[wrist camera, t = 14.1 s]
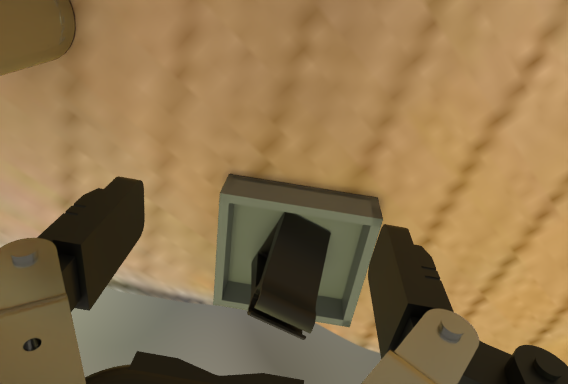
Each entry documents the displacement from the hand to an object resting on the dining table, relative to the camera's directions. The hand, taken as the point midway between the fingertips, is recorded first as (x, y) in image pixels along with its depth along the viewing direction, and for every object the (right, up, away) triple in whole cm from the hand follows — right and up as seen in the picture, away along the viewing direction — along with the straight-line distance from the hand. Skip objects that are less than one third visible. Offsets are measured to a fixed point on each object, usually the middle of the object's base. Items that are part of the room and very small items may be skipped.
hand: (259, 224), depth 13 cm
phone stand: (+2, -5, +34) cm, 34 cm away
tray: (+2, -5, +35) cm, 35 cm away
